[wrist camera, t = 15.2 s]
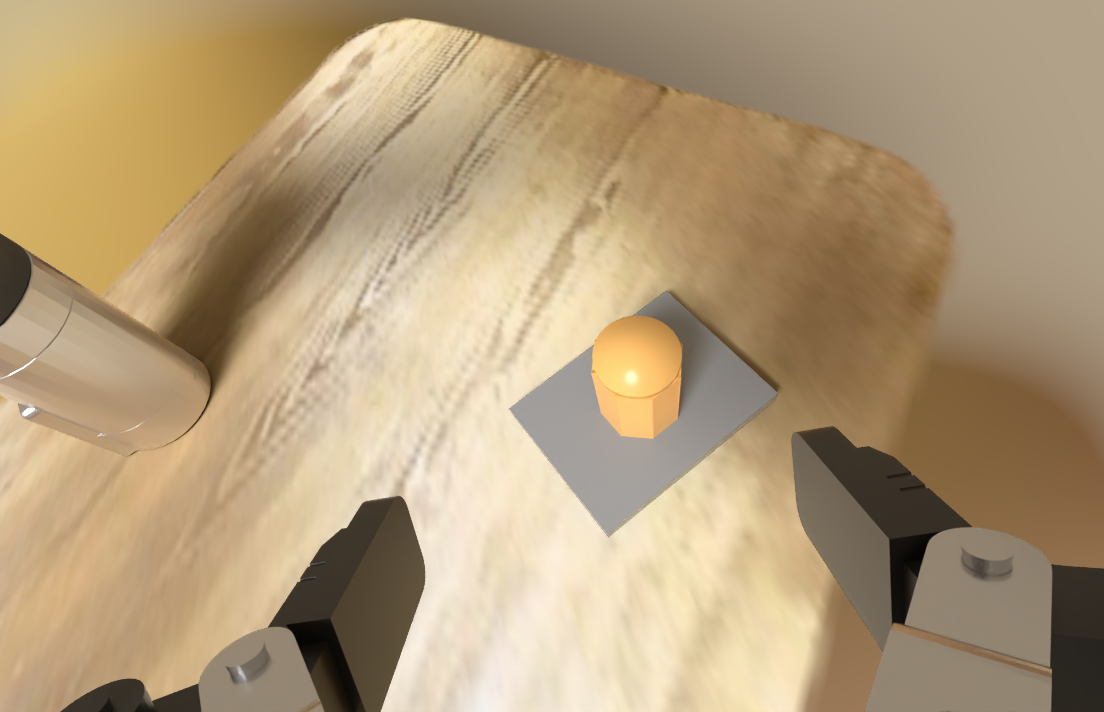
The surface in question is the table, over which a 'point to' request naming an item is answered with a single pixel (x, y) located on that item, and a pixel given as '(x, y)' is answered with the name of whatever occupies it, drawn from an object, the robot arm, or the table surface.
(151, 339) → the robot arm
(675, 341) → the orange domed hexagonal post
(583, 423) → the post board
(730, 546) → the table surface
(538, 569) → the table surface
